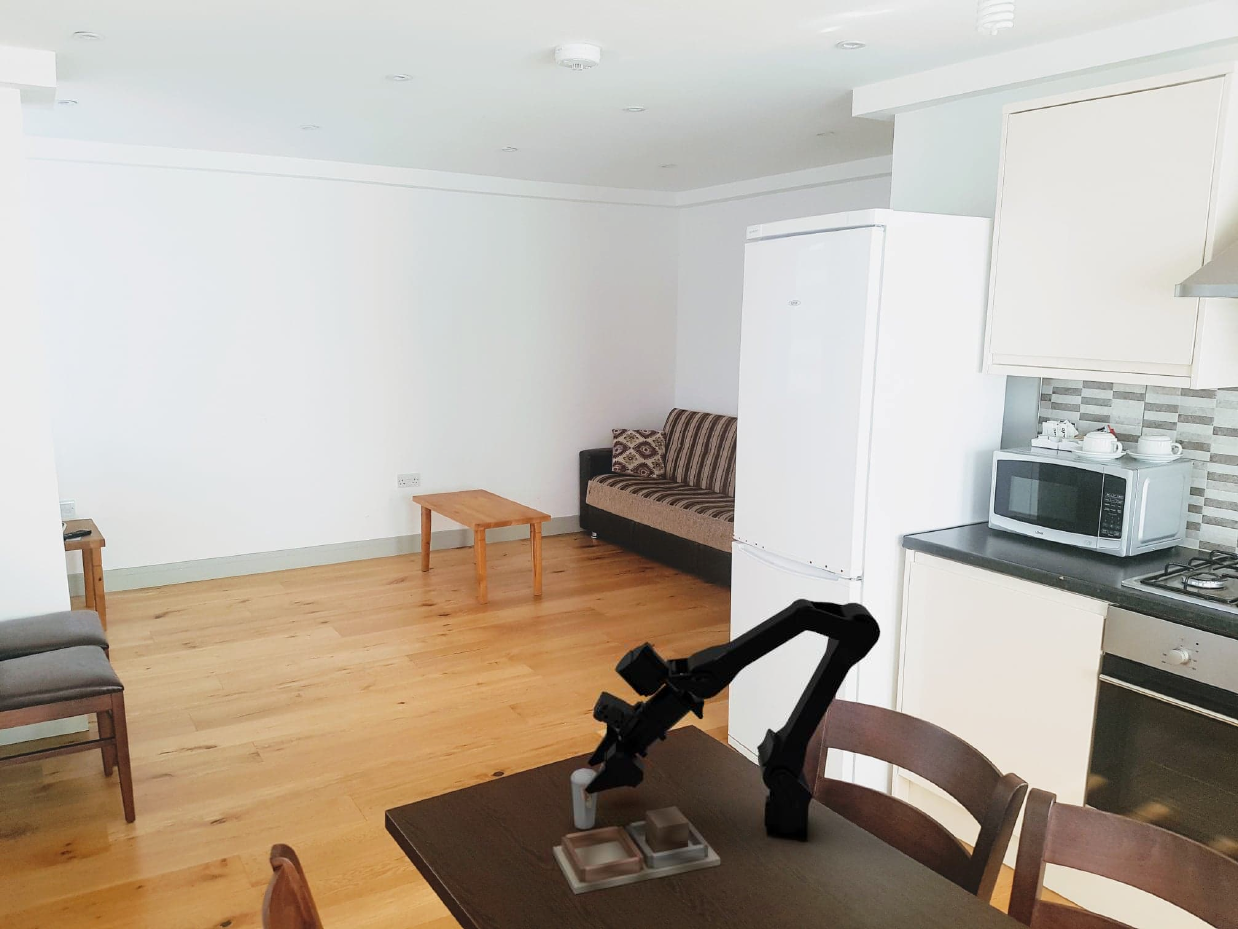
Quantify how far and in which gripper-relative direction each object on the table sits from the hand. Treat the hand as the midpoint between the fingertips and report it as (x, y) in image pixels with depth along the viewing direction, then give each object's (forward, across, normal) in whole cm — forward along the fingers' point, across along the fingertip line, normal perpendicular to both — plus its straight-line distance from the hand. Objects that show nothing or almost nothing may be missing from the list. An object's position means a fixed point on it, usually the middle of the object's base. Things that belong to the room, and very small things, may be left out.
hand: (588, 777), depth 150 cm
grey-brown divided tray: (0, +10, +11) cm, 15 cm away
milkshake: (+6, 0, +6) cm, 8 cm away
